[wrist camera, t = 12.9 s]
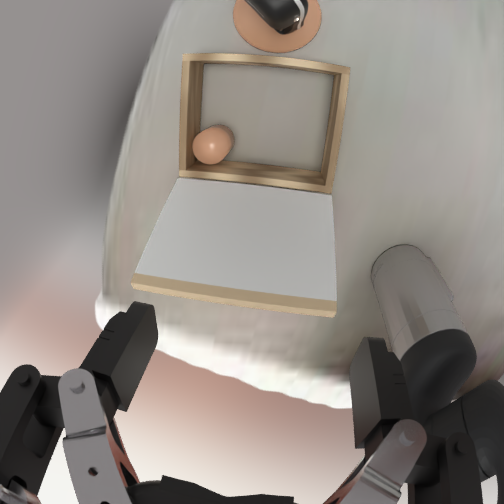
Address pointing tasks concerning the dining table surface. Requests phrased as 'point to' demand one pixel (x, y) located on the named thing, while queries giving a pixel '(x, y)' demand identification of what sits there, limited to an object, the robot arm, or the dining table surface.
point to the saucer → (266, 36)
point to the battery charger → (281, 13)
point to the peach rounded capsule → (213, 144)
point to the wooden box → (252, 171)
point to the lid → (243, 248)
